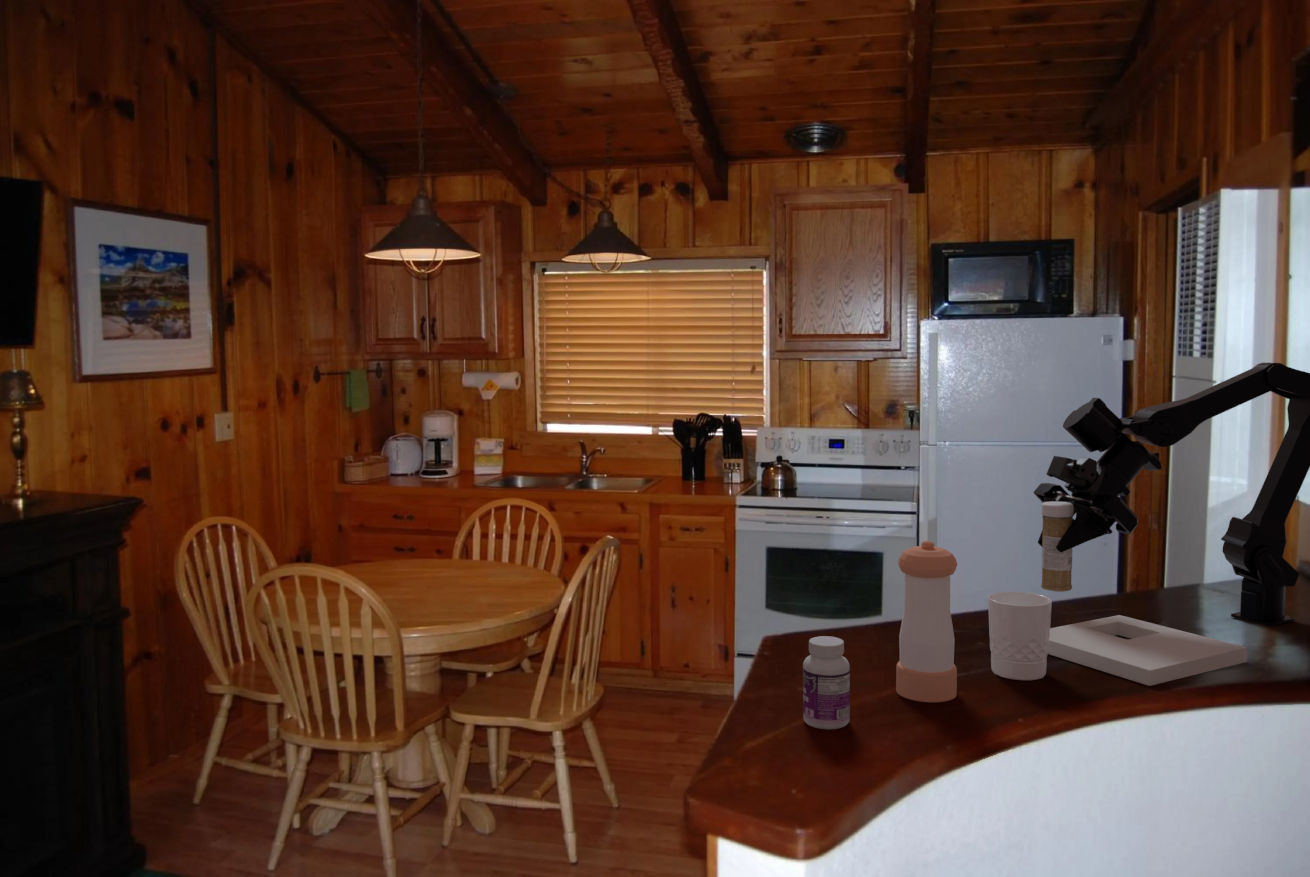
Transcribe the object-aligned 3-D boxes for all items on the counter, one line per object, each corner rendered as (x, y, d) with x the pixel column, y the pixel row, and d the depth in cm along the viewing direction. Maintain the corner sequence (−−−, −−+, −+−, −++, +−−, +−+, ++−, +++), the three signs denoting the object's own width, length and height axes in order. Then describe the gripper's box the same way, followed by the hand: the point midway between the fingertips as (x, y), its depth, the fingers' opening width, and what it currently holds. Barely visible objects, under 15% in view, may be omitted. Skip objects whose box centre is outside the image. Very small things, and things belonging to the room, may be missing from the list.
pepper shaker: (946, 706, 123) (948, 548, 121) (888, 696, 126) (889, 543, 125) (963, 689, 129) (965, 539, 127) (907, 680, 133) (908, 534, 131)
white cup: (1049, 666, 137) (1050, 593, 137) (1051, 684, 130) (1053, 607, 129) (987, 661, 140) (988, 590, 139) (986, 679, 133) (987, 603, 132)
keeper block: (1118, 627, 156) (1119, 614, 156) (1246, 661, 138) (1247, 647, 138) (1025, 646, 147) (1025, 633, 146) (1149, 685, 129) (1149, 670, 129)
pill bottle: (798, 715, 120) (798, 634, 120) (842, 713, 121) (842, 633, 120) (809, 731, 115) (808, 648, 114) (855, 729, 115) (855, 646, 115)
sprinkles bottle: (1050, 584, 161) (1051, 499, 160) (1078, 589, 157) (1079, 502, 156) (1034, 589, 158) (1035, 502, 157) (1062, 594, 154) (1063, 505, 153)
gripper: (1044, 433, 165) (983, 504, 164) (1121, 442, 147) (1052, 522, 146) (1087, 479, 168) (1026, 549, 166) (1167, 493, 150) (1100, 573, 148)
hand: (1049, 547), depth 157 cm, fingers closed on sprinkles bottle, 4 cm apart
